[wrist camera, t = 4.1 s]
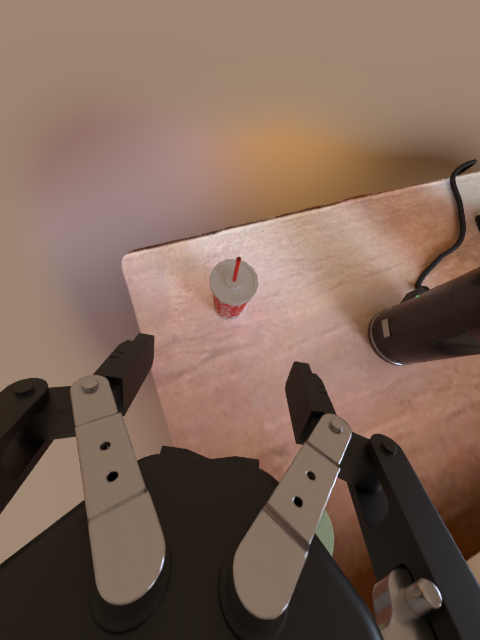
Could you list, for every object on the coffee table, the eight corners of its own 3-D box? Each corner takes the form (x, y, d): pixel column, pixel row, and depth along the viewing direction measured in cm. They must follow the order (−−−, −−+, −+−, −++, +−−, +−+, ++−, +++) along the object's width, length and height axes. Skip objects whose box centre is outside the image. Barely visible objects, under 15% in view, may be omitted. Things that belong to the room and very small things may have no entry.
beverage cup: (202, 311, 37) (197, 266, 24) (222, 281, 39) (228, 224, 26) (235, 331, 37) (250, 296, 23) (254, 300, 39) (277, 252, 25)
